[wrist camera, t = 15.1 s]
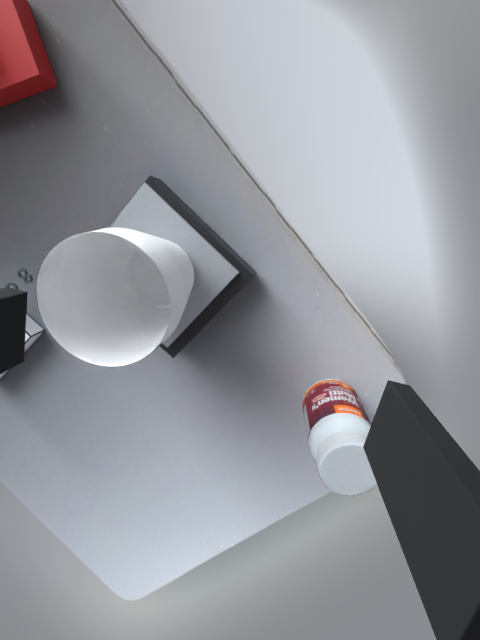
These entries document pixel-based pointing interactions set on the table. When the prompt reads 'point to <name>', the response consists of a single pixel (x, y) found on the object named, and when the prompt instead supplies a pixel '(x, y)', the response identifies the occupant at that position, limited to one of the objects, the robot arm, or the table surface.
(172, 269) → the cup
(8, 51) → the red rectangular block
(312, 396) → the pill bottle
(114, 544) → the table surface
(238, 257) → the scale
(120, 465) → the table surface
